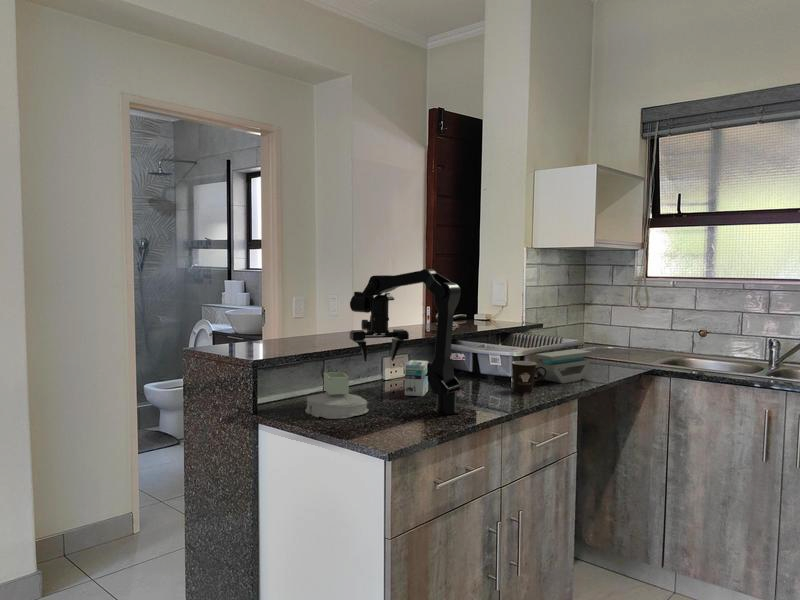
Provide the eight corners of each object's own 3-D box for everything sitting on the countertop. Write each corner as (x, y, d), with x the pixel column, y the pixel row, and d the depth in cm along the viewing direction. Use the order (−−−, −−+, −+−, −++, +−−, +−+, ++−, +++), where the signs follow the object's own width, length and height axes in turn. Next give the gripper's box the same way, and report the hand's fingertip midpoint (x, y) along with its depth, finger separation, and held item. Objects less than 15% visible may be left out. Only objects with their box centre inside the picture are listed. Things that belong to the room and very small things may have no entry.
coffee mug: (507, 391, 223) (508, 363, 222) (515, 387, 231) (516, 360, 230) (540, 395, 218) (541, 366, 217) (546, 390, 225) (547, 363, 224)
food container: (292, 410, 193) (292, 388, 192) (347, 401, 205) (347, 380, 204) (325, 425, 177) (325, 402, 177) (382, 414, 189) (382, 392, 189)
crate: (349, 393, 187) (349, 377, 187) (328, 394, 185) (328, 378, 185) (343, 387, 196) (343, 371, 196) (323, 388, 194) (323, 372, 194)
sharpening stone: (574, 375, 256) (575, 349, 255) (590, 378, 250) (591, 351, 249) (534, 382, 241) (535, 354, 240) (551, 385, 235) (552, 356, 234)
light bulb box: (423, 396, 212) (424, 365, 211) (404, 395, 213) (404, 364, 213) (428, 390, 222) (429, 360, 222) (409, 389, 224) (410, 359, 223)
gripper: (399, 311, 214) (398, 356, 215) (346, 311, 208) (345, 358, 210) (409, 314, 203) (408, 361, 204) (353, 315, 198) (353, 363, 199)
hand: (378, 361), depth 205 cm, fingers open, 9 cm apart
